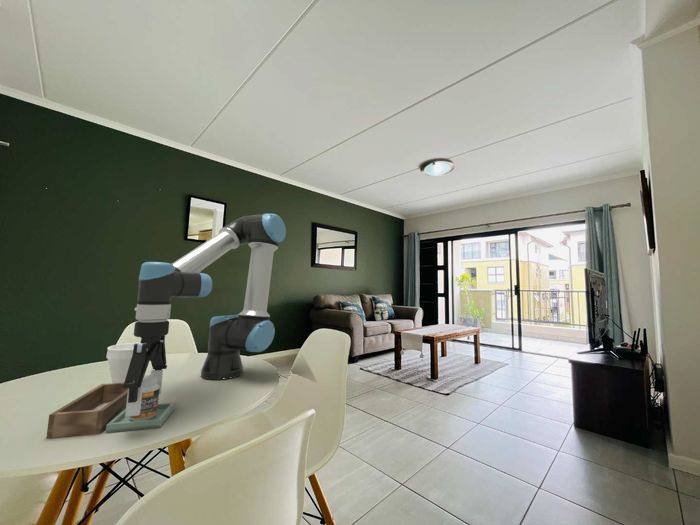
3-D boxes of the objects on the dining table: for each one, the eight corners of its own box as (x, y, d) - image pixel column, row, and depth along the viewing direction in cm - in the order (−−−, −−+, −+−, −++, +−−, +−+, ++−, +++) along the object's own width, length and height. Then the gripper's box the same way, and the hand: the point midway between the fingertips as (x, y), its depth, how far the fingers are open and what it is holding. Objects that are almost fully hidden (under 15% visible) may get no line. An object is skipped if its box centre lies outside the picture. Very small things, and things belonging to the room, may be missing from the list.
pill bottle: (142, 423, 69) (146, 381, 70) (123, 420, 70) (128, 379, 71) (162, 413, 74) (166, 375, 76) (144, 411, 76) (148, 373, 77)
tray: (174, 409, 79) (174, 402, 79) (159, 427, 68) (160, 420, 69) (128, 412, 76) (128, 405, 76) (105, 432, 65) (106, 424, 66)
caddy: (139, 398, 85) (141, 381, 86) (100, 433, 65) (103, 410, 66) (100, 401, 82) (102, 383, 83) (46, 438, 62) (49, 414, 63)
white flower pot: (136, 393, 89) (140, 349, 90) (92, 395, 87) (97, 349, 88) (156, 381, 101) (160, 342, 102) (118, 382, 99) (122, 342, 100)
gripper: (154, 315, 85) (147, 388, 83) (110, 326, 62) (99, 428, 60) (182, 315, 88) (176, 386, 85) (150, 326, 64) (140, 425, 62)
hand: (144, 404), depth 73 cm, fingers open, 13 cm apart
